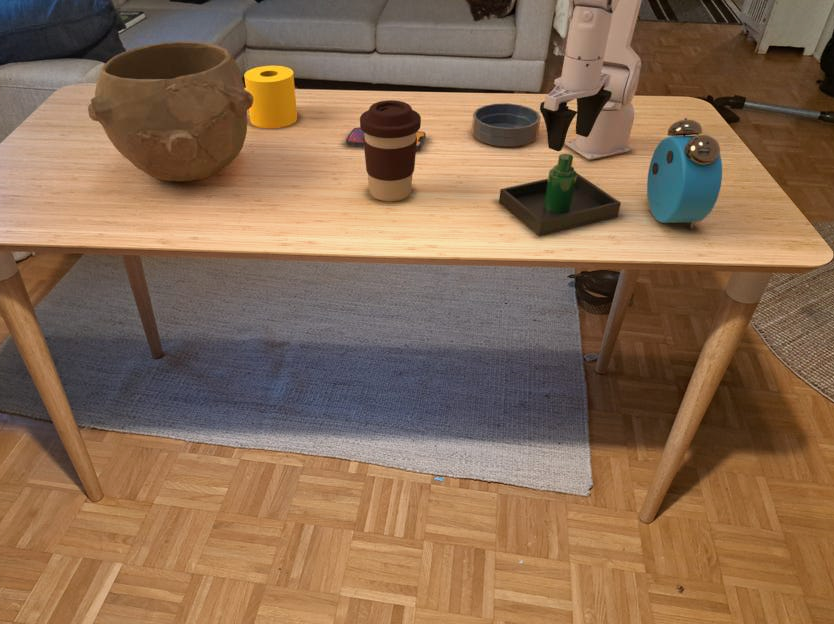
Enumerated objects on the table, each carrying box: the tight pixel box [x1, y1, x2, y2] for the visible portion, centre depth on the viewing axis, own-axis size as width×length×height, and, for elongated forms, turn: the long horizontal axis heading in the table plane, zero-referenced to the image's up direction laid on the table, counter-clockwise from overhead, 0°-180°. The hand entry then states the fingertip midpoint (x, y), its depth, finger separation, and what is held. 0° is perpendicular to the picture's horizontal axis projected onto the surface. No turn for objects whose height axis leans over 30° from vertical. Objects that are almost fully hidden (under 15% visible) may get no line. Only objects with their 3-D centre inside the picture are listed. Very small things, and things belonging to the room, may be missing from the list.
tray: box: [498, 172, 622, 237], centre depth 113 cm, size 15×12×2 cm
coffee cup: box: [359, 99, 422, 202], centre depth 114 cm, size 10×10×15 cm
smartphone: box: [345, 126, 427, 151], centre depth 135 cm, size 7×15×1 cm, turn 75°
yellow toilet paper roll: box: [243, 65, 298, 129], centre depth 142 cm, size 10×10×9 cm
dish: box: [471, 102, 542, 148], centre depth 136 cm, size 13×13×4 cm
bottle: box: [544, 153, 578, 213], centre depth 110 cm, size 4×4×9 cm
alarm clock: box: [646, 117, 723, 229], centre depth 106 cm, size 13×6×15 cm, turn 2°
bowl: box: [87, 40, 253, 182], centre depth 121 cm, size 27×29×20 cm
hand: (568, 142), depth 110 cm, fingers open, 7 cm apart
